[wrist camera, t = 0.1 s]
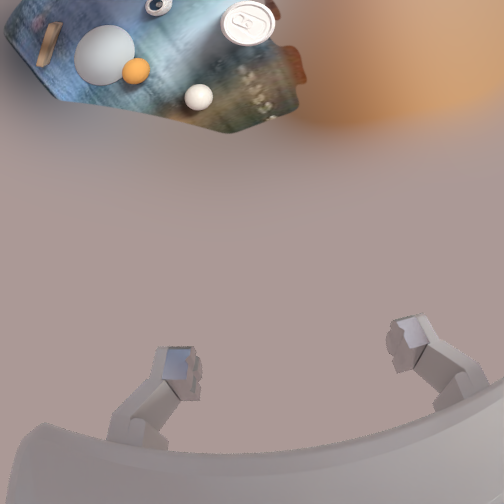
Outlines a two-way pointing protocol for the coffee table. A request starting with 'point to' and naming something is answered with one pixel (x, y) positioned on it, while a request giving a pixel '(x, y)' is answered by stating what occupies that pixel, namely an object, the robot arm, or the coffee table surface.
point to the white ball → (198, 97)
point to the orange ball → (135, 71)
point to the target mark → (103, 54)
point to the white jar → (164, 9)
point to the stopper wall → (49, 43)
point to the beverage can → (247, 23)
